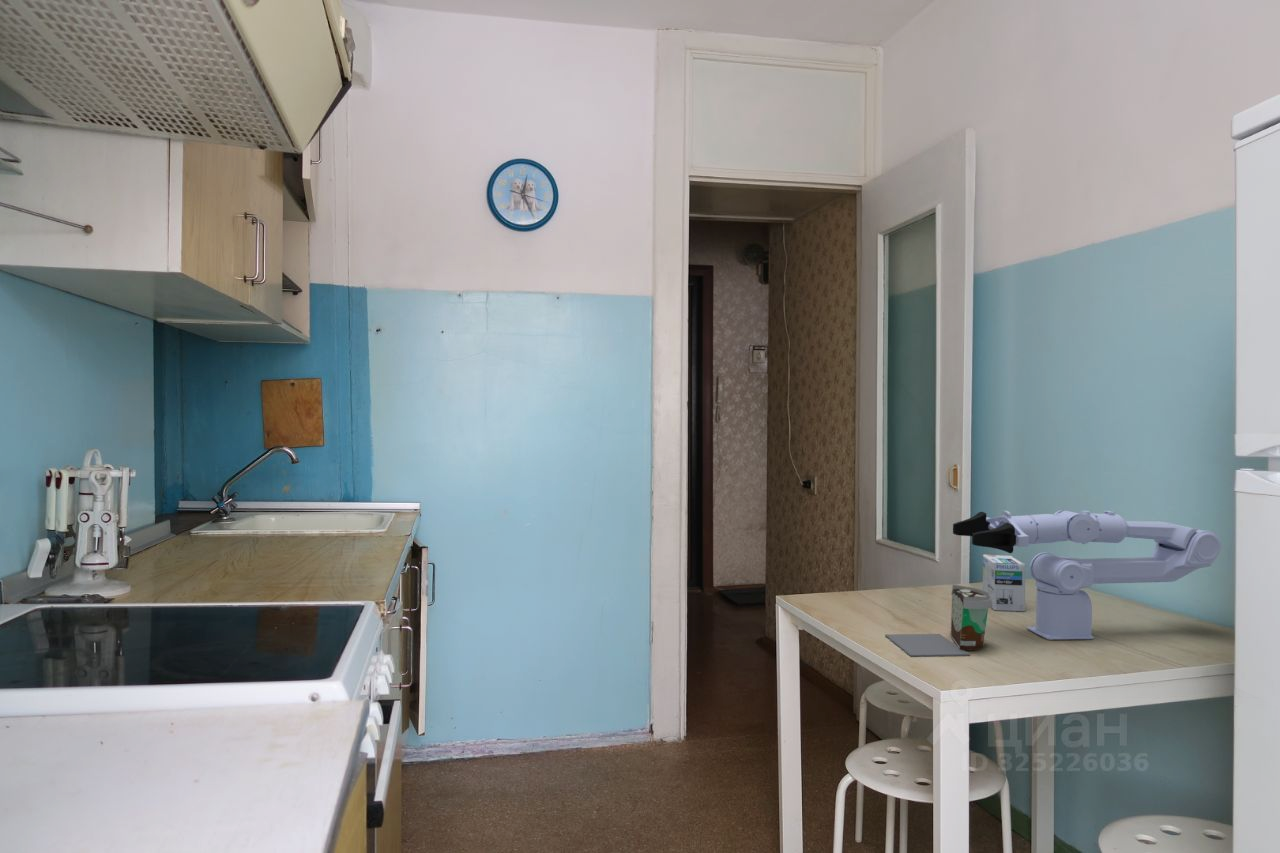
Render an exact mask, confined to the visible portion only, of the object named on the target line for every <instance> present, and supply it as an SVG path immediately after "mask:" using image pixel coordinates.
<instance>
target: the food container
mask: <svg viewBox="0 0 1280 853" xmlns="http://www.w3.org/2000/svg"><path fill="white" fill-rule="evenodd" d="M951 598H952V599H951V612H950V613H951V614H950V616H951V618H950V638H951V639H952V641H953V643H954V644H955V645H957V646H958V648H959V649H962V650H964V651H971V650H972V651H977V650H980V649H982V648H983V647H984V641H985V634H986V628H987V620H988V612H989V609H990V608H992V600H991V597H990V594H989V593H988V592H986V591H983V589H980V588H975V587H972V586H965V585H959V584H957V585H956V584H952V587H951Z"/></svg>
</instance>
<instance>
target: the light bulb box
mask: <svg viewBox="0 0 1280 853" xmlns="http://www.w3.org/2000/svg"><path fill="white" fill-rule="evenodd" d="M982 590H983V591H986V592H988V593H989V594H990V597H991V600H992V607H991V608H992V609H993V610H994V611H1003V612H1004V611H1005V612H1006V611H1007V612H1008V611H1010V612H1023V613H1024V612H1025V611H1026V564H1025V563H1024V562H1022V561H1020V560H1019V559H1017V558H1015V557H1014V556H1012V555H997V554H996V555H995V554H982Z"/></svg>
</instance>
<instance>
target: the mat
mask: <svg viewBox="0 0 1280 853" xmlns="http://www.w3.org/2000/svg"><path fill="white" fill-rule="evenodd" d="M884 635H885V637H886V638H887V640H889V641H890V642H892V643H893V644H895V645H896V646H897V647H898V648H899V649H900V650H902V651H903V652H904V653H906V654H907V655H908V657H911V658H914V657H918V658H919V657H921V658H923V657H968V656H969V657H970V656H971V654H970V653H969V652H968V651H967V650H962V649H959V648H958V646H957V645H956V643H955V642H954V641H951V640H949V638H947V637H945V636H944V635H942V634H941V633H905V634H904V633H902V634H893V633H892V634H891V633H890V634H884Z"/></svg>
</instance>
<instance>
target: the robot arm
mask: <svg viewBox="0 0 1280 853" xmlns="http://www.w3.org/2000/svg"><path fill="white" fill-rule="evenodd" d="M952 534H954V535H955V536H960V537H961V536H962V537H964V536H965V537H971V545H973V546H977V547H985V548H989V549H991V548H992V549H995V550H1000V551H1004V552H1006V553H1008V554H1012V553H1014V547H1016V546H1017V547H1021V548H1022V547H1029V545H1035V544H1051V543H1052V544H1053V543H1057V542H1058V543H1059V542H1067V541H1070V542H1073V543H1078V544H1082V545H1085V544H1086V545H1087V544H1088V543H1107V544H1120V543H1121V542H1123V541H1124V539H1125V538H1133V539H1147V540H1153V541H1154V543H1155V546H1154V548H1153V551H1152V554H1151V556H1149V557H1148V556H1147V557H1144V556H1143V557H1106V558H1105V557H1104V558H1102V557H1101V558H1100V557H1099V558H1095V557H1094V558H1077V557H1069V556H1057V555H1055V554H1052V553H1050V552H1039V553H1037V554H1036V555H1035V556H1033V558H1032V559H1031V561H1030V563H1029V572H1030V576H1031V577H1032V578H1033V579H1034V580H1035V587H1036V598H1035V599H1036V600H1035V602H1036V604H1035V605H1036V606H1035V625H1033V626H1032V625H1027V626H1026V629H1027V630H1029V631H1031V632H1033V633H1034V634H1037V635H1039V636H1041V637H1042V638H1043V639H1046V640H1051V641H1052V640H1093V639H1095V637H1094V636H1093V635H1092V634H1093V632H1092V629H1093V628H1092V625H1093V604H1092V601H1091V598H1090V596H1089V594H1088V593H1087V592H1086V591H1085V590H1082V589H1085V588H1091V587H1092V586H1093V585H1095V584H1096V585H1097V584H1136V583H1137V584H1138V583H1140V584H1141V583H1142V584H1143V583H1172V582H1176V581H1178V580H1180V579H1182V578H1184V577H1185V576H1188V575H1189V574H1191V573H1193V572H1194V571H1196V570H1199V569H1203V568H1208V567H1211V566H1212V564H1213V563H1214V562H1215V560H1217V558H1218V556H1219V554H1220V552H1221V549H1222V548H1221V547H1222V545H1221V539H1220V538H1219V537H1218V535H1217V534H1216V533H1214V532H1213V531H1211V530H1202V529H1198V528H1193V527H1189V526H1185V525H1179V524H1178V523H1177V524H1176V523H1171V522H1167V521H1166V522H1165V521H1161V520H1158V521H1156V520H1155V521H1154V520H1153V521H1152V520H1151V521H1150V520H1147V521H1146V520H1145V521H1144V520H1143V521H1142V520H1141V521H1140V520H1134V521H1132V520H1125V519H1124V518H1123V517H1122V516H1121V515H1119V514H1118V513H1117V514H1115V511H1111V510H1104V511H1103V513H1096V512H1095V513H1093V512H1091V511H1090V510H1081V513H1079V512H1075V511H1074V512H1073V511H1070V510H1064V509H1060V510H1058V511H1056V512H1054V513H1052V514H1051V513H1042V514H1041V513H1039V514H1026V515H1014V516H1013V515H1012V513H1011V512H1010V511H1008V510H1002V513H1001V515H1000V516H996V517H989V516H988V517H987V513H986V512H985V511H979V512H977V513H976V514H974V515H973V516H971V517H970V518H969V517H968V519H964V520H961V521H957V522H955V523H953V524H952Z"/></svg>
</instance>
